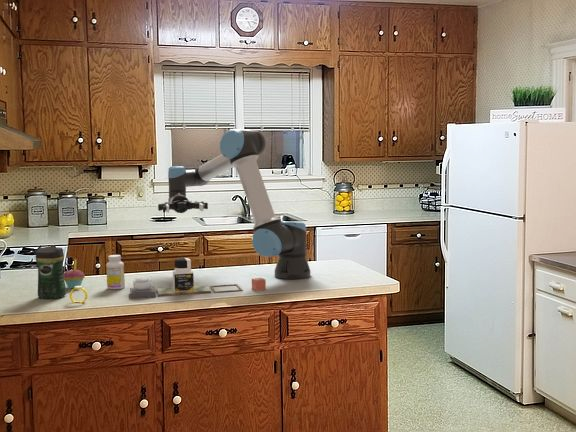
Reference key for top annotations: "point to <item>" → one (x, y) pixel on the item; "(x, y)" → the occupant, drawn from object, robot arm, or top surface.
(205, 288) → the track
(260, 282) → the die
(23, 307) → the top surface
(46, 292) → the coffee jar
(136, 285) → the dome
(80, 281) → the cupcake
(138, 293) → the popper base
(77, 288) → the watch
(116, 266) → the supplement bottle
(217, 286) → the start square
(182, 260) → the medicine bottle
